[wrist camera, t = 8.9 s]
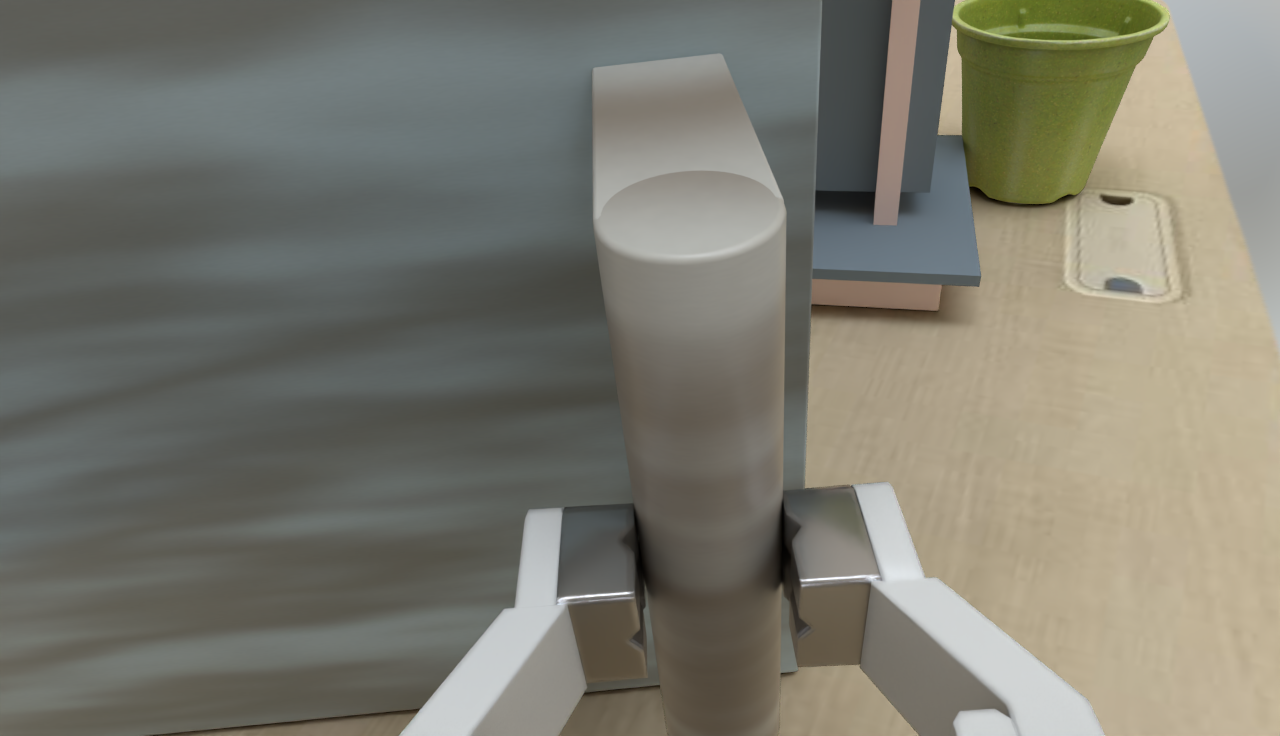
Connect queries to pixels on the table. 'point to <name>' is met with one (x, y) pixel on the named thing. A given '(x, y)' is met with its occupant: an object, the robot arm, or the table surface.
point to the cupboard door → (391, 343)
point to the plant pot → (1045, 88)
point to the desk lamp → (888, 160)
